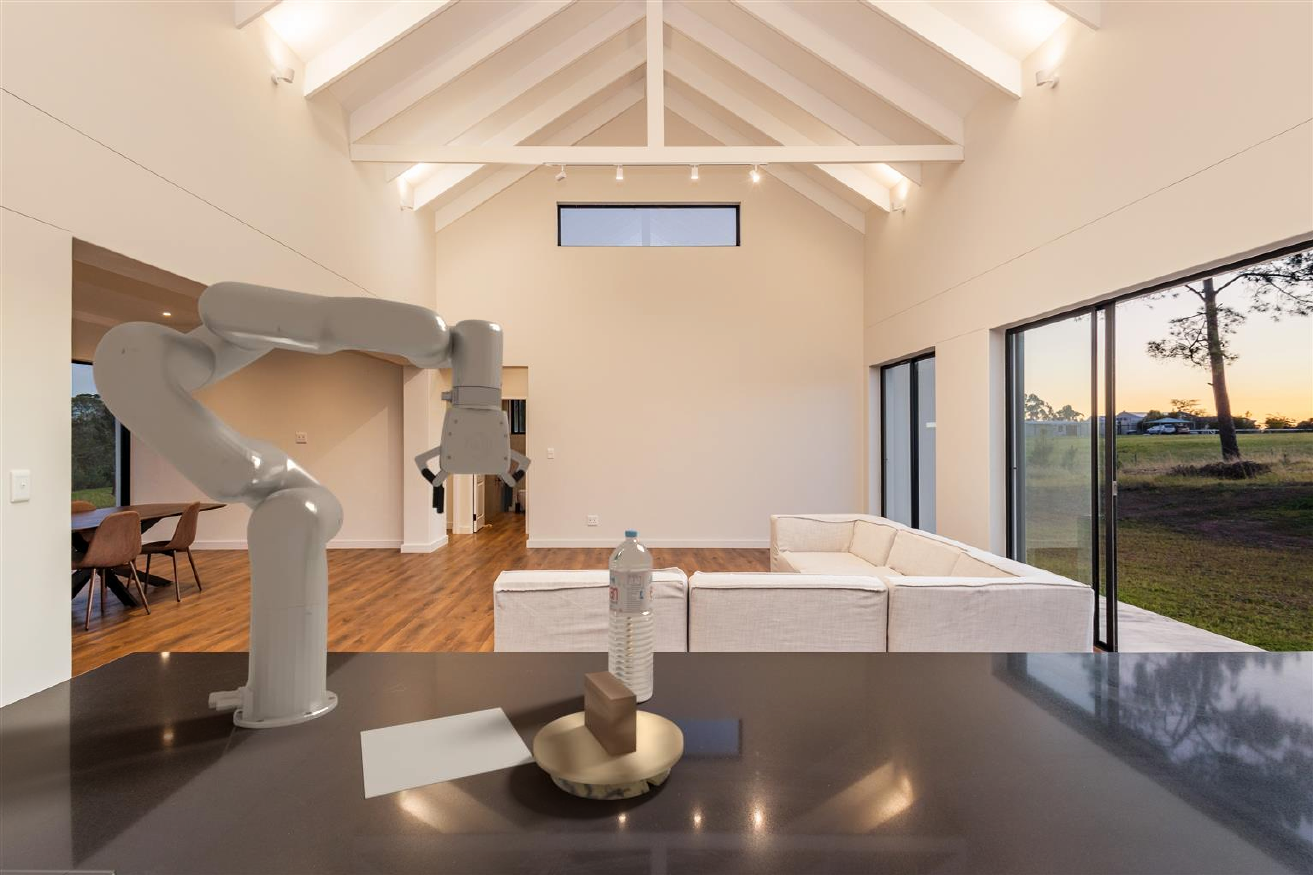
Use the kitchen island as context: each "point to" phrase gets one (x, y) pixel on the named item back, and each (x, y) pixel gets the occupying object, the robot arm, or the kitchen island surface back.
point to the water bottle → (631, 616)
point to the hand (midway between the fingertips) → (472, 512)
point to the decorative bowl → (610, 787)
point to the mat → (439, 751)
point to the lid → (608, 738)
